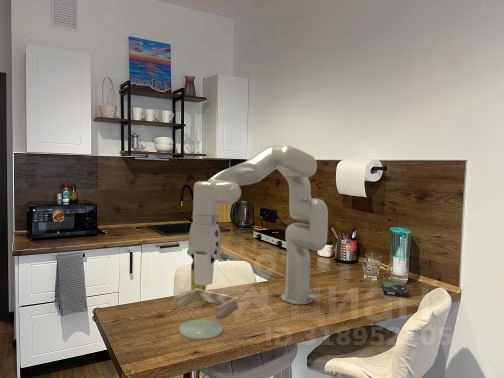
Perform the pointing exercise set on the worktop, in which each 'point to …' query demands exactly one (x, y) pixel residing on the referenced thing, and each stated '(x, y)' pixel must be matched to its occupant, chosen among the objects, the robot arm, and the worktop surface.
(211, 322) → the disc
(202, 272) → the white coffee cup
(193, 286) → the sauce bottle
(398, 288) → the disk drive
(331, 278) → the worktop surface
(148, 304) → the worktop surface
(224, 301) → the frame
